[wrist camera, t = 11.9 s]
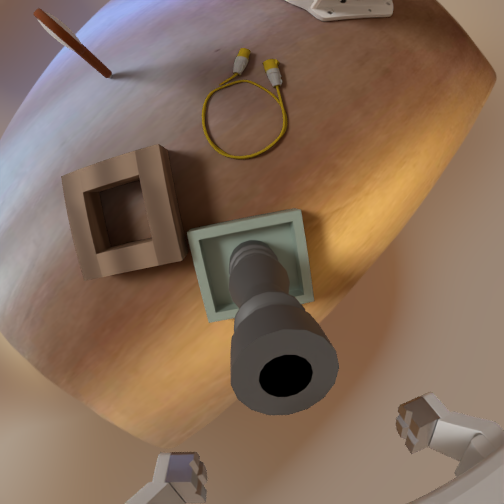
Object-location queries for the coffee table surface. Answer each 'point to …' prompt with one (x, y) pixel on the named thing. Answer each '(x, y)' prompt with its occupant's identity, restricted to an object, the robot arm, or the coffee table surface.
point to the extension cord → (274, 78)
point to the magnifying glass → (69, 40)
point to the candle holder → (274, 338)
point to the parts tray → (240, 230)
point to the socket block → (156, 204)
